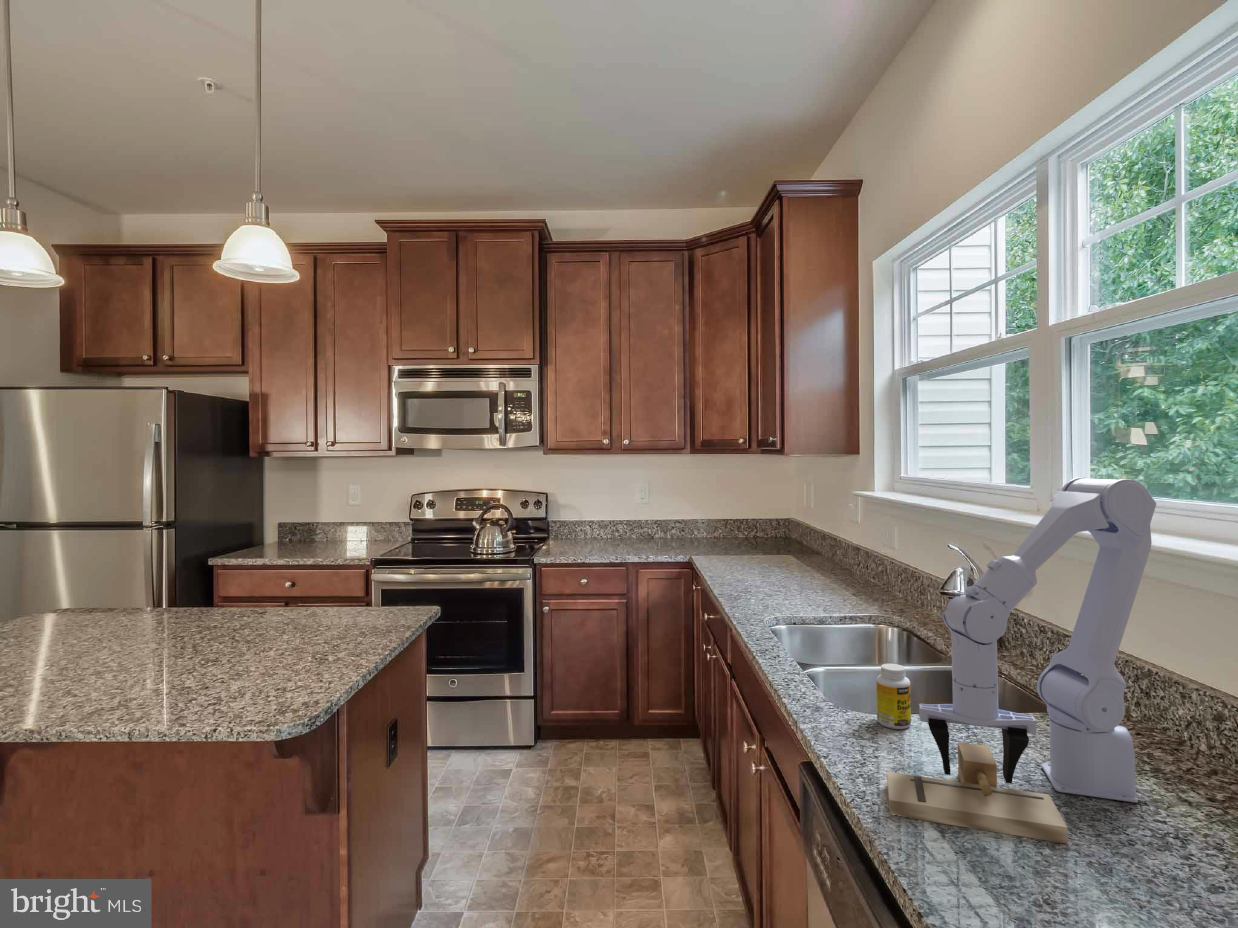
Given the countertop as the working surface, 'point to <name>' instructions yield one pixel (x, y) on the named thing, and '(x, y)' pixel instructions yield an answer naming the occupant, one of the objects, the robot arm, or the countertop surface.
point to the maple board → (976, 807)
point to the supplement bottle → (893, 697)
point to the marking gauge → (977, 766)
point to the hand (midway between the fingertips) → (976, 775)
